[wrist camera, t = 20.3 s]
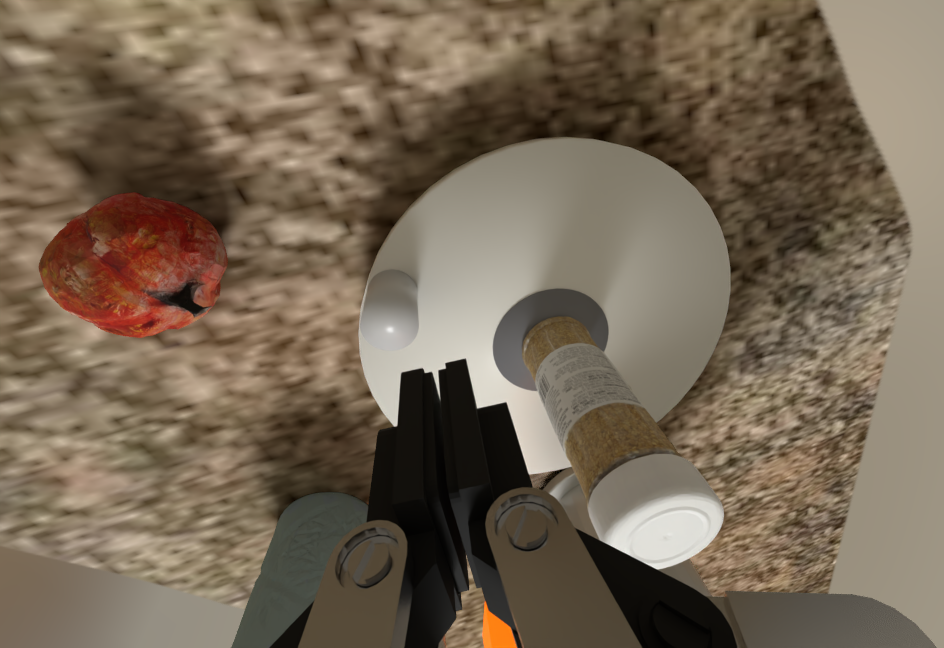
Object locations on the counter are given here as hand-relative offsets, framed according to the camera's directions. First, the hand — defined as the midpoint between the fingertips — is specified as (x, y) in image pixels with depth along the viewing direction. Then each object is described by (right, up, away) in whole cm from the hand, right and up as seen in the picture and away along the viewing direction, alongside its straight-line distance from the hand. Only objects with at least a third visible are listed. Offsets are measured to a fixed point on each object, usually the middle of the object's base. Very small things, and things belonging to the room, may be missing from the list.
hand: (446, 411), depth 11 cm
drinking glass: (-12, -16, +27) cm, 34 cm away
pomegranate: (-17, +7, +14) cm, 23 cm away
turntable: (+5, +3, +19) cm, 20 cm away
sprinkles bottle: (+6, +1, +16) cm, 17 cm away
